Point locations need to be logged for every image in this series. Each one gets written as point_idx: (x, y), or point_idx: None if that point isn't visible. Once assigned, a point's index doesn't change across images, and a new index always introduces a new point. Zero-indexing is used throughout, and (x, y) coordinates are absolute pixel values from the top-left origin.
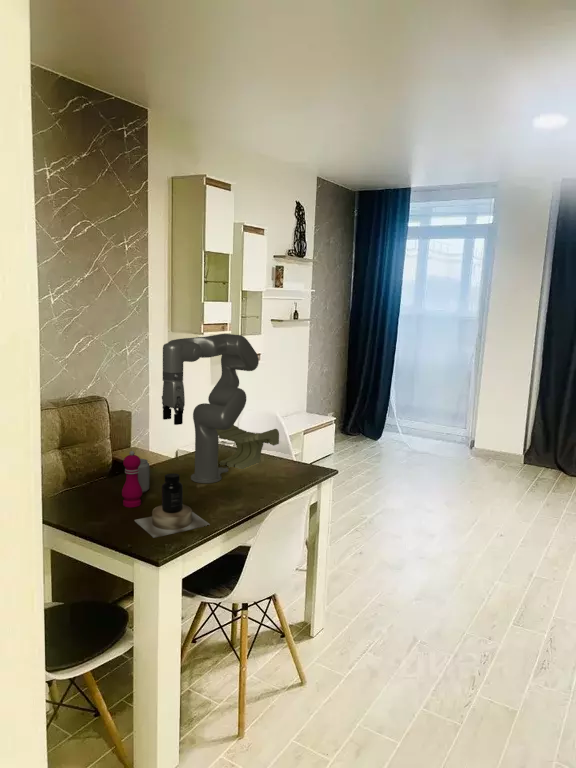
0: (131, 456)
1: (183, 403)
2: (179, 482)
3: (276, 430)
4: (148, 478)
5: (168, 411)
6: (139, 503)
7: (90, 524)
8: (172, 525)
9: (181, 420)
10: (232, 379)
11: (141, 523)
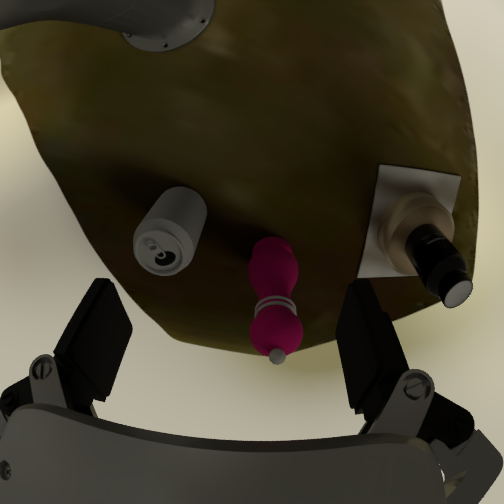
0: (286, 352)
1: (494, 476)
2: (461, 267)
3: None
4: (191, 206)
5: (93, 356)
6: (289, 246)
7: (321, 327)
8: None
9: (375, 312)
10: None
11: (379, 273)
